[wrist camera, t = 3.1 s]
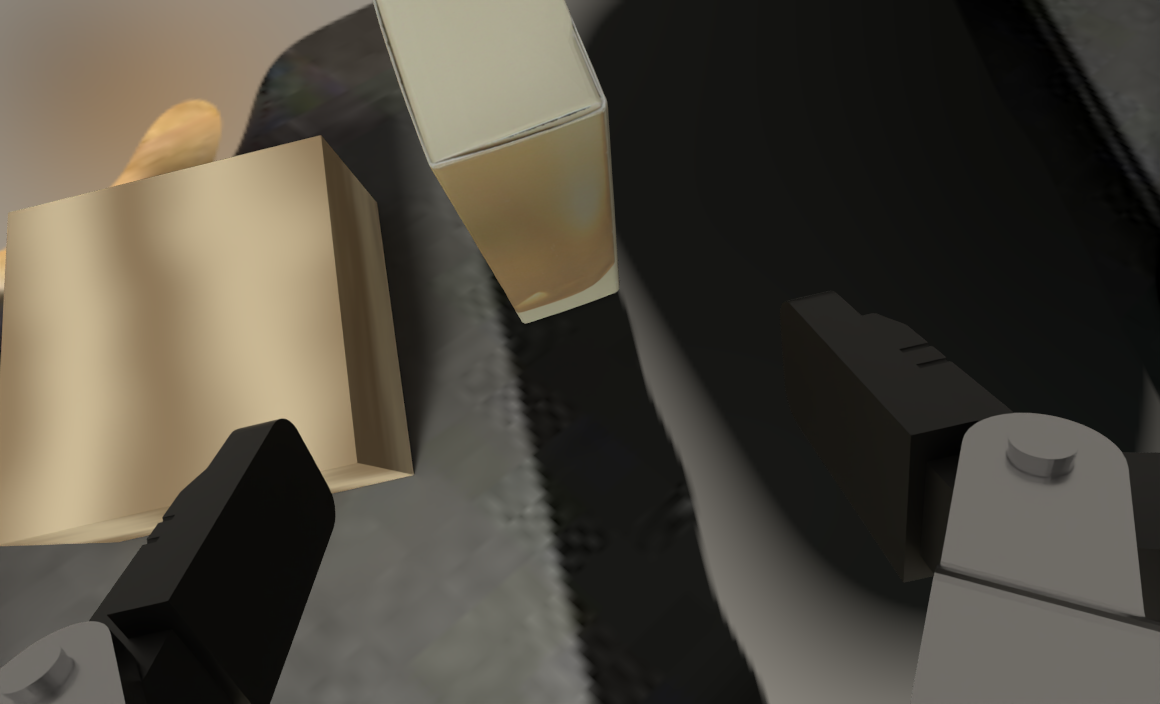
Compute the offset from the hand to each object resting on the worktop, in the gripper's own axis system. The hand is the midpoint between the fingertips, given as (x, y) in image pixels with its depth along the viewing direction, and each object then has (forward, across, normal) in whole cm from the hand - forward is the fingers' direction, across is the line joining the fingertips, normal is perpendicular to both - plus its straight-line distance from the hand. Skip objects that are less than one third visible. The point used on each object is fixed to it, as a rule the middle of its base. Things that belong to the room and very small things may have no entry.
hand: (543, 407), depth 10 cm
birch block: (+15, +13, +4) cm, 20 cm away
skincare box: (+17, 0, +3) cm, 17 cm away
